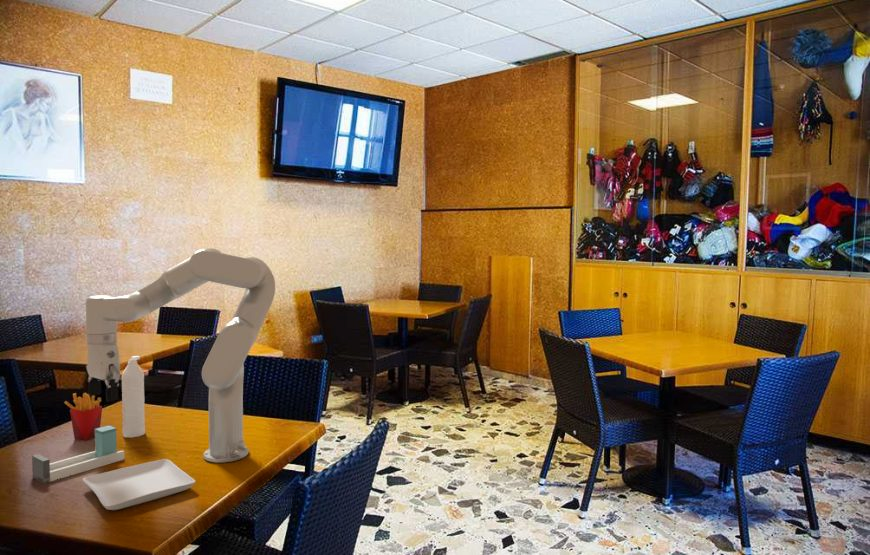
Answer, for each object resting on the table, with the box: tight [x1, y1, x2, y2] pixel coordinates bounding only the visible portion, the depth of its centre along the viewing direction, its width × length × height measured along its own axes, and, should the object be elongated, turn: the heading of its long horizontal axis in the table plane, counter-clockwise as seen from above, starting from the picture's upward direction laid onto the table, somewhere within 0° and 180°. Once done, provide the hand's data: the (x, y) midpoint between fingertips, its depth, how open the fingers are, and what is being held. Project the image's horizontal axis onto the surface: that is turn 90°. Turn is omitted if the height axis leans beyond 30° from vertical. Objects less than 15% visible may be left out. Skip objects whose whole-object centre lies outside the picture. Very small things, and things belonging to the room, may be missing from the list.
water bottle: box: [121, 355, 146, 439], centre depth 191 cm, size 9×6×25 cm
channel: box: [31, 449, 125, 485], centre depth 163 cm, size 7×21×6 cm, turn 146°
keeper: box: [94, 425, 118, 457], centre depth 169 cm, size 4×4×8 cm
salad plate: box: [82, 458, 196, 511], centre depth 150 cm, size 21×21×3 cm
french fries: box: [63, 392, 103, 442], centre depth 186 cm, size 9×8×15 cm
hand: (103, 397), depth 168 cm, fingers open, 9 cm apart
